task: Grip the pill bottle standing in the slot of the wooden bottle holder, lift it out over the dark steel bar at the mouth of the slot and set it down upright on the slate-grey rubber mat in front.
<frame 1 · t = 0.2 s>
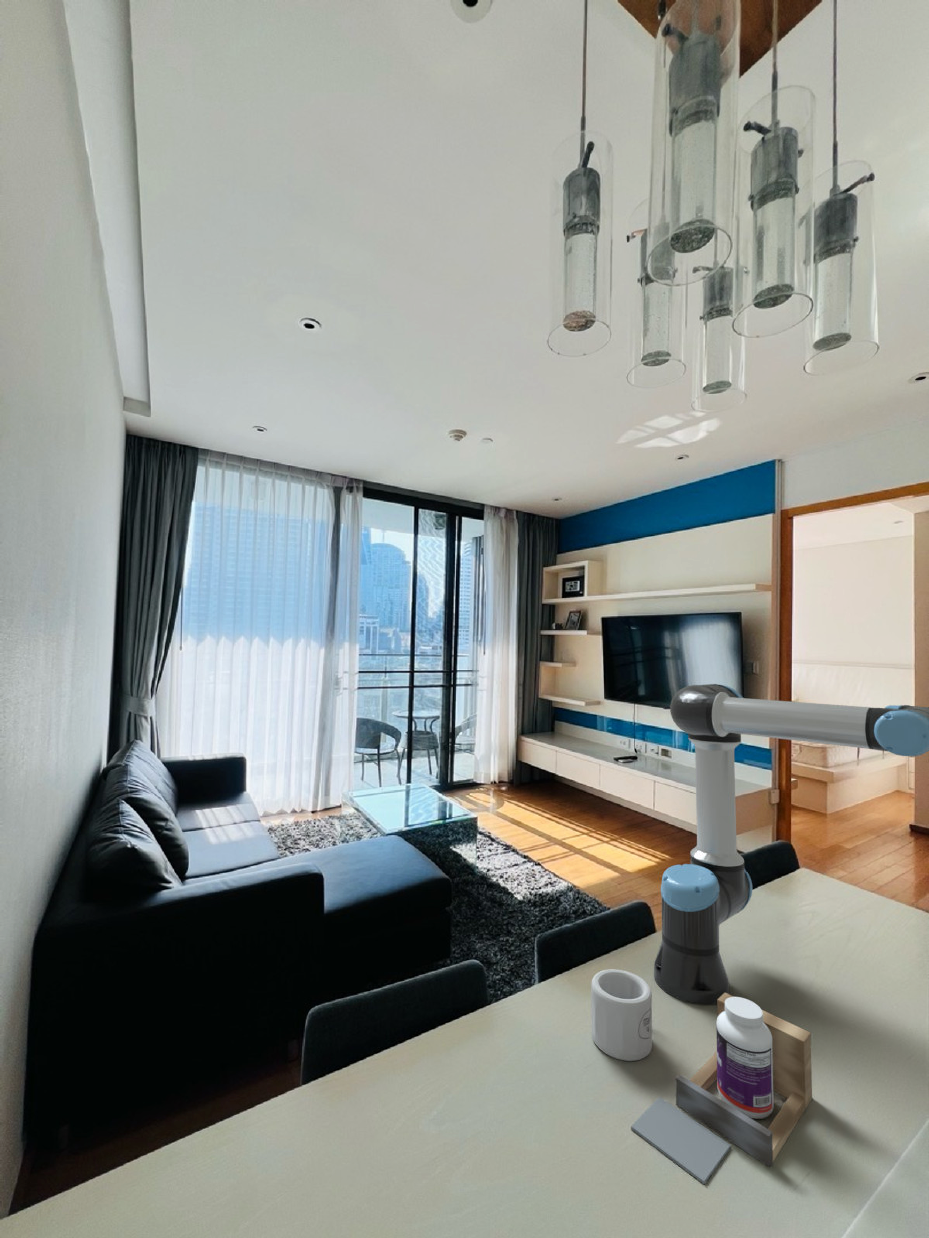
mug: (624, 1038, 99), on the table
mat: (679, 1138, 78), on the table
pill bottle: (744, 1102, 85), resting in wooden bottle holder
wooden bottle holder: (742, 1104, 85), on the table
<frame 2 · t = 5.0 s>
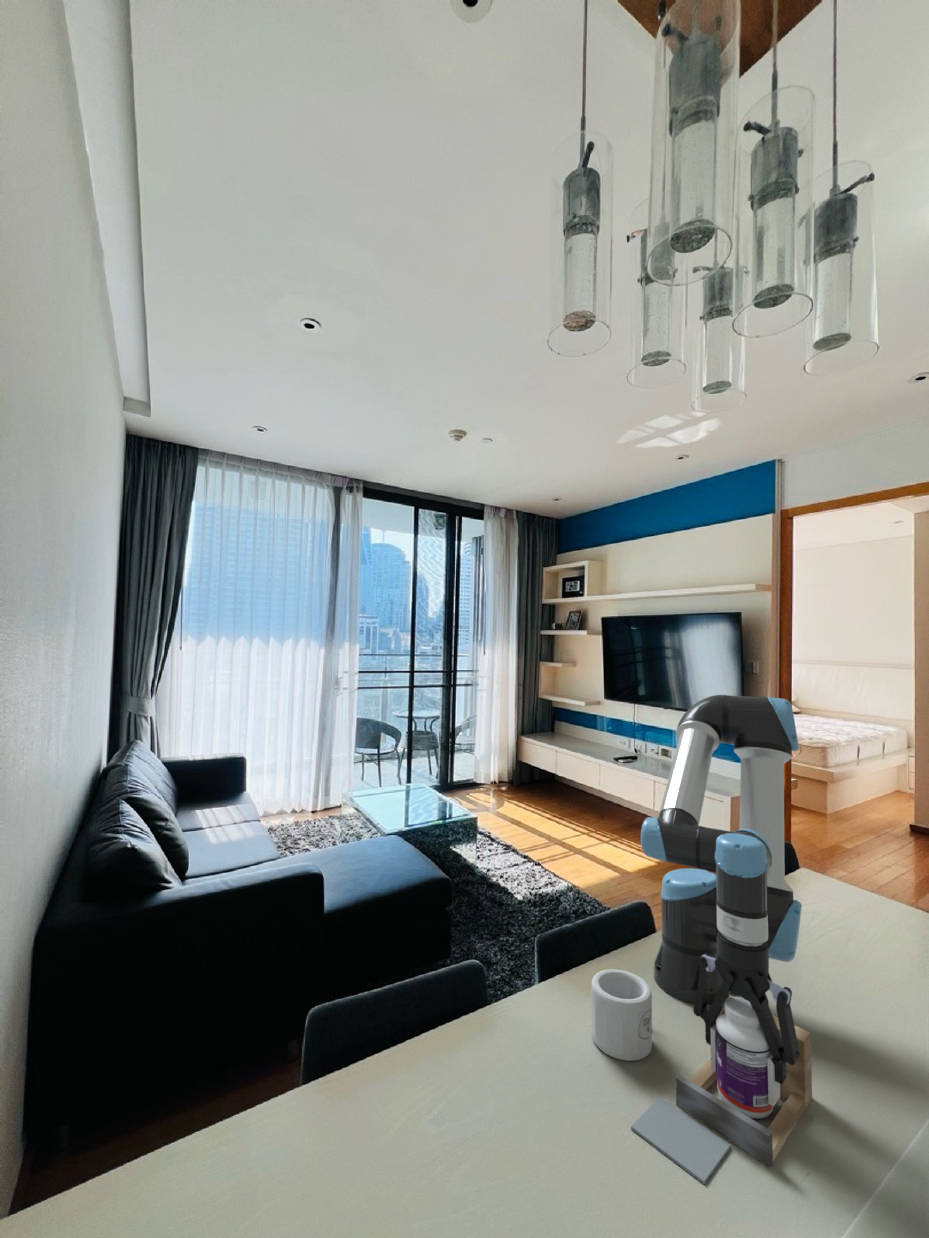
hand: (744, 1082, 85), 3 cm above the table, fingers closed on pill bottle, 8 cm apart
pill bottle: (744, 1102, 85), resting in wooden bottle holder, touching gripper
everything else where it was.
when the fingers open (4 cm above the table, at t = 10.7 s): pill bottle drops 1 cm, resting on mat.
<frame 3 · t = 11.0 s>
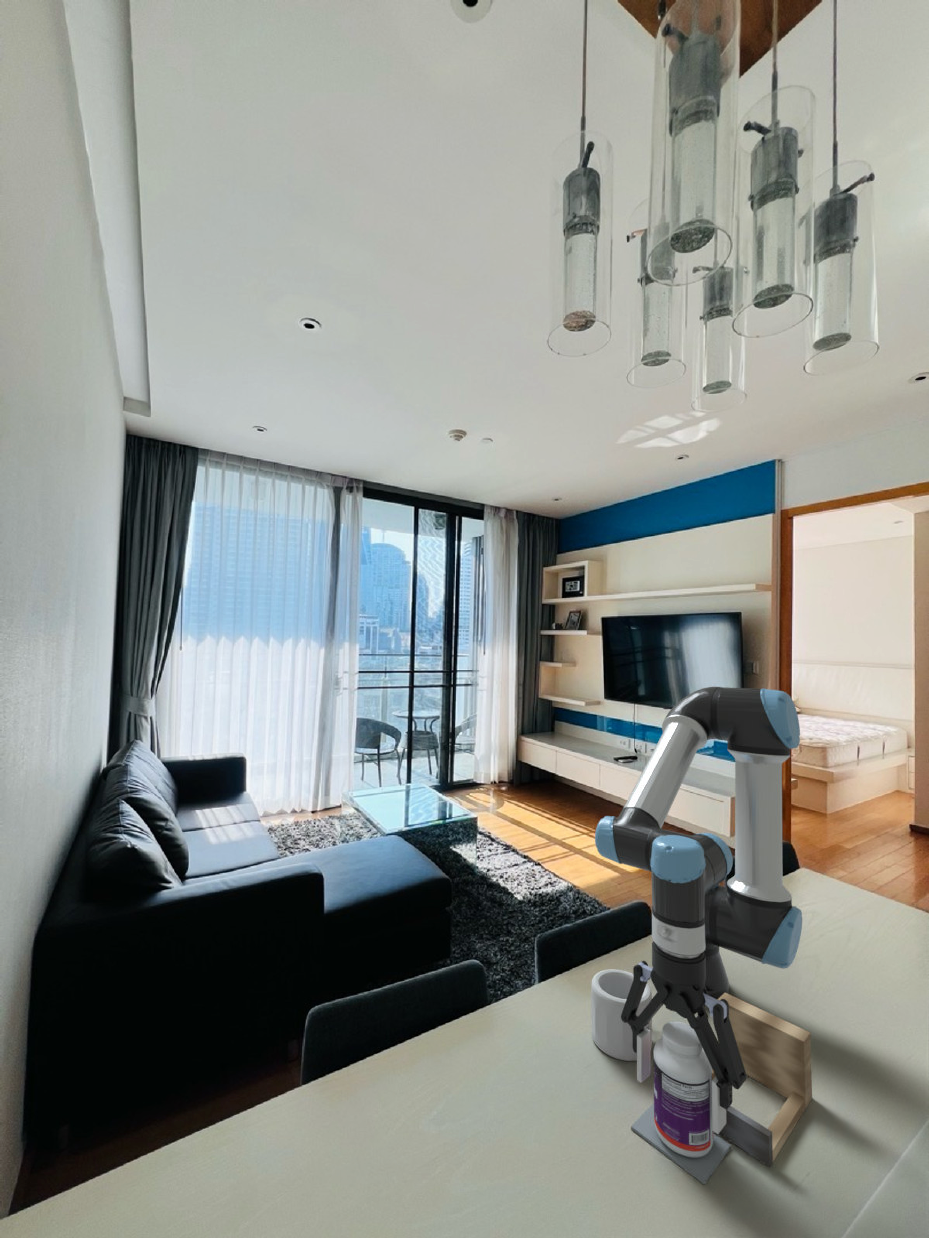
hand: (679, 1100, 79), 5 cm above the table, fingers open, 11 cm apart
pill bottle: (683, 1138, 78), resting on mat
everything else where it was.
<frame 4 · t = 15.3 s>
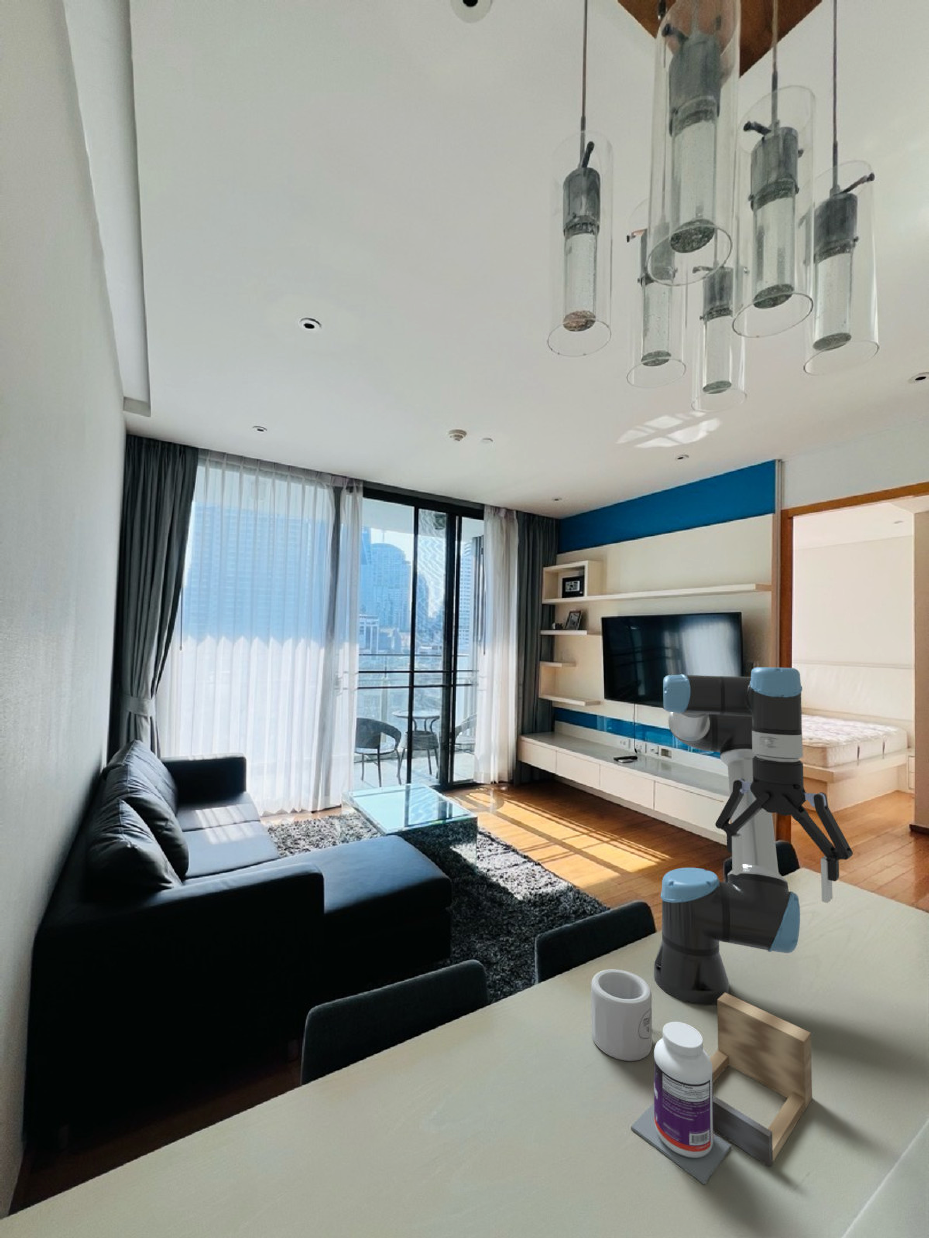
hand: (780, 885, 90), 33 cm above the table, fingers open, 13 cm apart
nothing on the table moved.
at the end: pill bottle inside the target area on the mat (0.5 cm from its centre), point 0.2 cm above the mat's base; pill bottle tilted 0°; the gripper is holding nothing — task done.
